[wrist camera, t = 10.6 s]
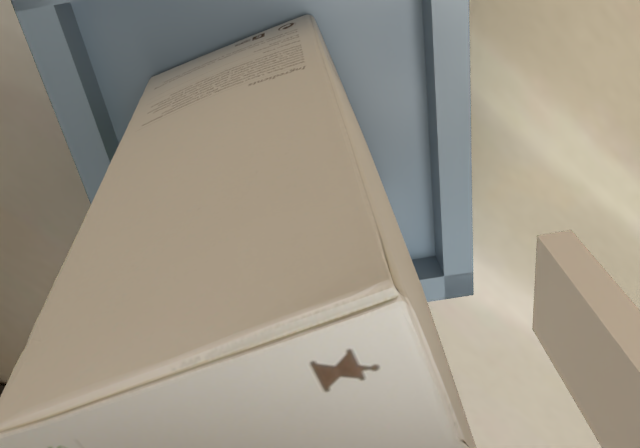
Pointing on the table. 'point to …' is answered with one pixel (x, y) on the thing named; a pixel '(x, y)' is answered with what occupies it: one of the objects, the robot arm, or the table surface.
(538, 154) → the table surface
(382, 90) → the tray
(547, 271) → the robot arm
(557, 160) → the table surface
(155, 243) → the skincare box
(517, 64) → the table surface
